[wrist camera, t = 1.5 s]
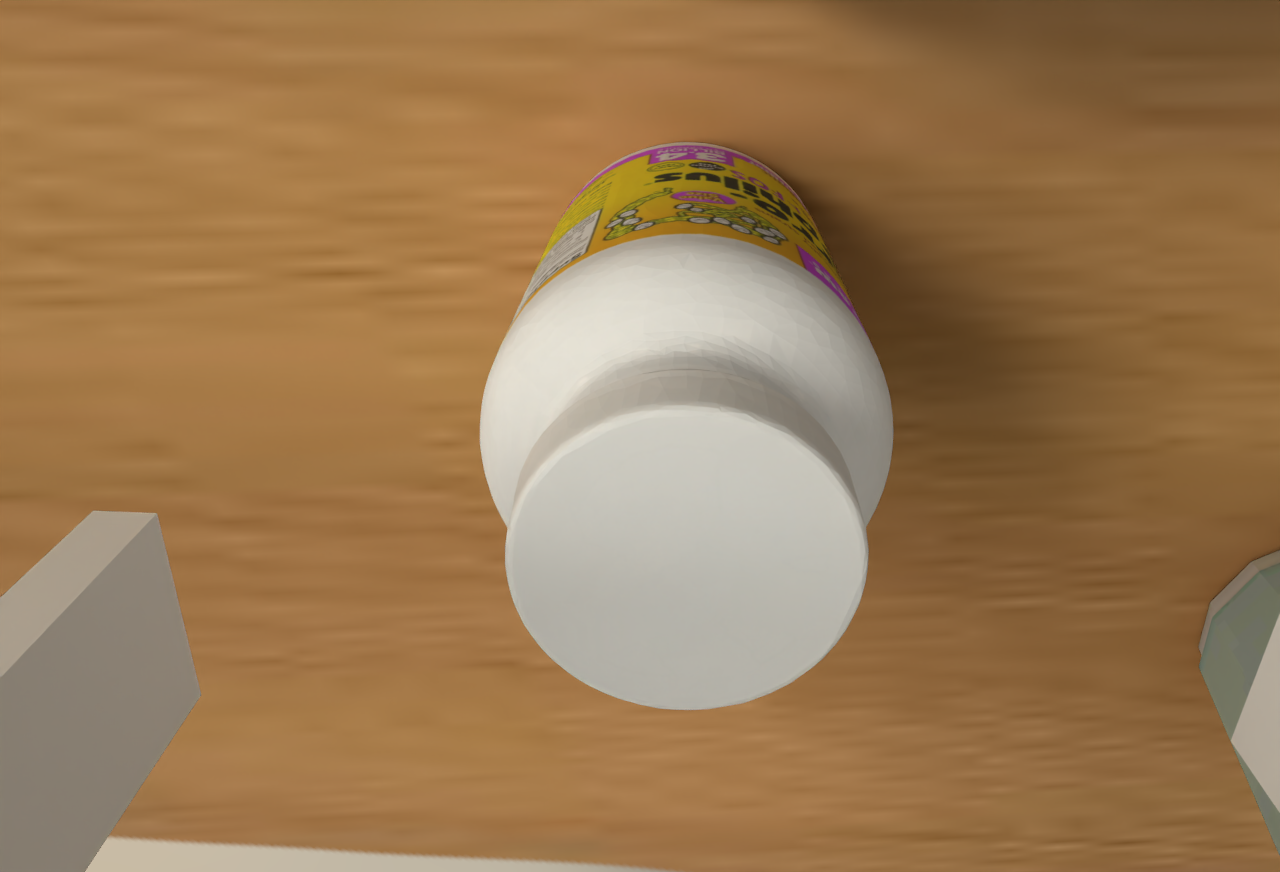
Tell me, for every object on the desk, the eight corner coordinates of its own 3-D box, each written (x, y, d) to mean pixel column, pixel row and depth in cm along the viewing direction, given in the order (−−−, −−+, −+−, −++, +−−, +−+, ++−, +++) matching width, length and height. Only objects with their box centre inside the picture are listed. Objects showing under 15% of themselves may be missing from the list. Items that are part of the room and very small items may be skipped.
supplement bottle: (878, 250, 23) (1070, 544, 12) (705, 442, 26) (726, 837, 14) (658, 71, 22) (636, 211, 10) (496, 294, 24) (332, 608, 13)
